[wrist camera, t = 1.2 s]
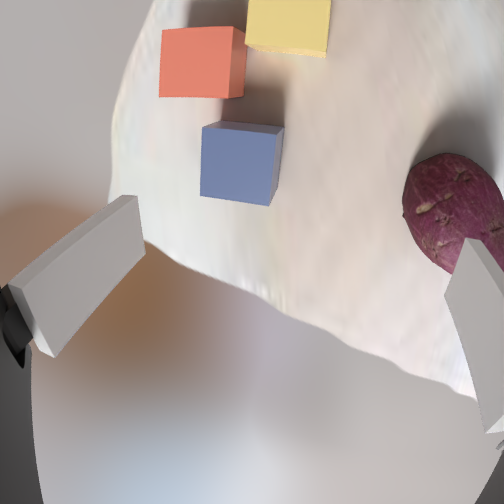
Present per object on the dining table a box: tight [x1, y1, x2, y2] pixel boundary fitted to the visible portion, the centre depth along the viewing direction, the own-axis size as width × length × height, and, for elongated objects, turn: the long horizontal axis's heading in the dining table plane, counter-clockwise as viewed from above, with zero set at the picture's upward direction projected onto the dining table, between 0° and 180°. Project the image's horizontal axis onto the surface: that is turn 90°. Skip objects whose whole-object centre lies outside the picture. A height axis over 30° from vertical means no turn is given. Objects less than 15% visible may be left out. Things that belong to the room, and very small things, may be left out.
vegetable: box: [402, 153, 504, 274], centre depth 21 cm, size 10×10×15 cm
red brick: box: [159, 26, 247, 98], centre depth 23 cm, size 6×6×5 cm
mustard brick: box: [245, 0, 331, 58], centre depth 20 cm, size 6×6×5 cm
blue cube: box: [200, 120, 284, 206], centre depth 27 cm, size 6×6×5 cm
